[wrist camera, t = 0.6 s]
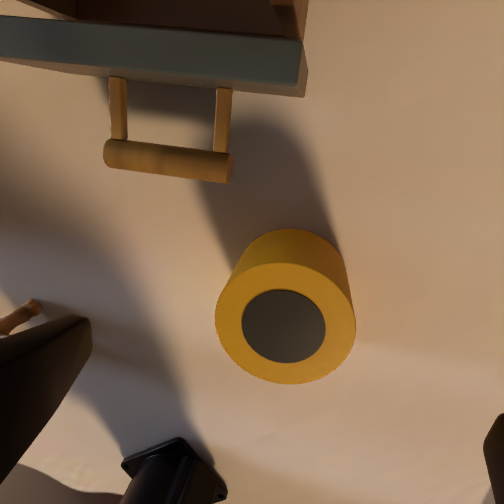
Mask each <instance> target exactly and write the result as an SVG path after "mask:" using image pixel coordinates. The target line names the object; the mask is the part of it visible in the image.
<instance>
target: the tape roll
mask: <svg viewBox="0 0 504 504" xmlns="http://www.w3.org/2000/svg"><path fill="white" fill-rule="evenodd" d="M215 326H216V331H217V335H218V338H219V340H220V342H221V344H222V346H223V348H224V350H225V351H226V353H227V354H228V355H229V356H230V358H231V359H232V360H233V361H234V362H235V363H236V364H237V365H238V366H240V367H241V368H242V369H244V370H245V371H247V372H248V373H250V374H252V375H254V376H256V377H258V378H260V379H263V380H266V381H270V382H274V383H281V384H301V383H307V382H311V381H314V380H317V379H320V378H322V377H324V376H326V375H328V374H329V373H331V372H332V371H334V370H335V369H336V368H337V367H339V366H340V365H341V363H342V362H343V361H344V360H345V359H346V357H347V356H348V354H349V353H350V350H351V348H352V346H353V343H354V340H355V334H356V320H355V315H354V309H353V304H352V299H351V293H350V288H349V283H348V277H347V272H346V268H345V265H344V262H343V260H342V258H341V256H340V255H339V253H338V252H337V250H336V249H335V248H334V247H333V246H332V245H331V244H330V243H329V242H327V241H326V240H325V239H323V238H322V237H320V236H318V235H316V234H314V233H312V232H309V231H305V230H301V229H291V228H287V229H279V230H274V231H271V232H268V233H266V234H264V235H262V236H260V237H259V238H257V239H256V240H254V241H253V242H252V243H251V244H250V245H249V246H248V247H247V249H246V250H245V251H244V253H243V255H242V256H241V258H240V260H239V262H238V263H237V265H236V267H235V269H234V271H233V273H232V274H231V276H230V278H229V280H228V282H227V283H226V285H225V287H224V289H223V291H222V293H221V294H220V297H219V299H218V301H217V305H216V310H215Z"/></svg>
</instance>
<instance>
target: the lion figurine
mask: <svg viewBox="0 0 504 504" xmlns="http://www.w3.org/2000/svg"><path fill="white" fill-rule="evenodd" d="M41 309H42V307H41V306H40V305H39V303H38V302H36V301H35V300H34V299H30V300H28V301H27V302H25V303H24V304H22V305H21V306H19V307H18V308H17V309H16V310H15V311H14V312H12V313H11V314H9V315H8V316H5V317H4V318H1V319H0V339H2V338H5V337H7V336H10V335H9V333H10V332H11V331H12V330H13V329H14V328H15V327H17V326H18V325H20V324H22V323H24V322H26V321H29V320H30V319H31V318H32V317H35V316H38V315H39V314H40V313H41Z"/></svg>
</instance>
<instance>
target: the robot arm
mask: <svg viewBox="0 0 504 504" xmlns="http://www.w3.org/2000/svg"><path fill="white" fill-rule="evenodd" d="M92 348H93V341H92V328H91V321H90V319H89V318H87V317H83V316H79V315H74V314H72V315H68V316H65V317H62V318H59V319H56V320H53V321H51V322H48V323H45V324H42V325H39V326H36V327H33V328H30V329H28V330H25V331H22V332H19V333H16V334H13V335H10V336H7V337H5V338H2V339H0V484H1V483H2V482H3V480H4V479H5V478H6V477H7V475H8V474H9V473H10V471H11V470H12V469H13V467H14V466H15V465H16V463H17V462H18V461H19V459H20V458H21V457H22V456H23V454H24V453H25V452H26V450H27V449H28V448H29V446H30V445H31V444H32V442H33V441H34V440H35V438H36V437H37V436H38V435H39V433H40V432H41V431H42V429H43V428H44V427H45V425H46V424H47V423H48V421H49V420H50V418H51V417H52V416H53V414H54V413H55V411H56V410H57V408H58V407H59V405H60V404H61V402H62V400H63V399H64V397H65V396H66V394H67V392H68V391H69V389H70V387H71V386H72V384H73V383H74V381H75V379H76V378H77V376H78V375H79V373H80V371H81V370H82V368H83V367H84V365H85V363H86V362H87V360H88V358H89V357H90V355H91V352H92ZM483 451H484V456H485V461H486V465H487V469H488V474H489V478H490V482H491V486H492V491H493V495H494V499H495V503H496V504H504V413H502V414H500V415H499V416H498V417H497V418H496V420H495V422H494V424H493V425H492V427H491V429H490V431H489V432H488V434H487V436H486V438H485V440H484V444H483ZM121 467H122V469H123V470H124V471H125V472H126V473H127V474H128V475H129V476H130V477H131V478H132V480H131V482H130V484H129V486H128V488H127V490H126V492H125V494H124V496H123V498H122V500H121V502H120V503H119V504H213V503H217V502H220V501H223V500H226V498H227V494H228V491H227V489H226V488H225V487H224V485H223V484H222V483H221V482H220V481H219V480H218V478H217V477H216V476H215V475H214V474H213V472H212V471H211V470H210V469H209V468H208V467H207V465H206V464H205V463H204V462H203V461H202V459H201V458H200V457H199V456H198V455H197V453H196V452H195V451H194V450H193V449H192V448H191V446H190V445H189V444H188V443H187V442H186V440H184V439H183V438H181V437H176V438H174V439H171V440H169V441H166V442H164V443H161V444H159V445H156V446H154V447H151V448H149V449H146V450H144V451H141V452H139V453H136V454H134V455H131V456H129V457H126V458H124V460H123V461H122V463H121Z"/></svg>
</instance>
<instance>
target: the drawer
mask: <svg viewBox="0 0 504 504" xmlns="http://www.w3.org/2000/svg"><path fill="white" fill-rule="evenodd" d="M17 1H19V2H22V3H24V4H27V5H30V6H32V7H35V8H37V9H40V10H42V11H45V12H47V13H50V14H53V15H55V16H58V17H60V18H63V19H65V20H68V21H65V20H54V19H42V18H30V17H18V16H6V15H0V61H4V62H9V63H15V64H20V65H26V66H31V67H37V68H42V69H48V70H53V71H59V72H65V73H70V74H78V75H88V76H97V77H107V78H108V86H109V109H110V131H111V138H110V139H108V140H107V141H106V142H105V144H104V148H103V158H104V162H105V164H106V165H107V166H108V167H110V168H116V169H123V170H130V171H138V172H145V173H152V174H159V175H167V176H174V177H181V178H188V179H196V180H203V181H210V182H217V183H225V184H228V183H229V182H230V179H231V176H232V171H233V157H232V154H230V153H226V152H228V147H229V134H230V120H231V107H232V94H233V91H242V92H251V93H261V94H270V95H280V96H290V97H299V98H303V97H304V96H305V91H306V84H307V77H308V67H307V62H306V57H305V52H304V47H303V40H304V33H305V25H306V18H307V11H308V3H309V0H17ZM126 80H136V81H146V82H155V83H165V84H174V85H184V86H194V87H203V88H213V89H217V92H216V108H215V125H214V142H213V151H209V150H201V149H193V148H185V147H177V146H169V145H161V144H153V143H145V142H137V141H130V140H126V139H128V132H127V95H126Z"/></svg>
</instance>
